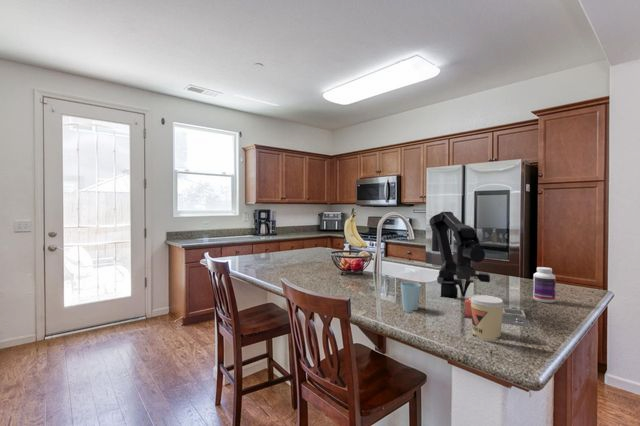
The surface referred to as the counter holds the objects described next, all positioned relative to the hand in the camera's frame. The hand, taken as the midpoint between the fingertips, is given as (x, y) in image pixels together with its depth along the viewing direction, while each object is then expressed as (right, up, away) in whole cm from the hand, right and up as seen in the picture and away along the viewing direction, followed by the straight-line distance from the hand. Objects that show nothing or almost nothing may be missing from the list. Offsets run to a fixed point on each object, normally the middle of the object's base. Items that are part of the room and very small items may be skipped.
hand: (463, 296), depth 133 cm
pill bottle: (+40, -5, +10) cm, 41 cm away
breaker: (+5, -3, -3) cm, 7 cm away
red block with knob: (-3, -3, -13) cm, 14 cm away
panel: (+6, -5, -12) cm, 14 cm away
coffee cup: (-6, -5, -30) cm, 31 cm away
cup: (-23, -5, -6) cm, 24 cm away
